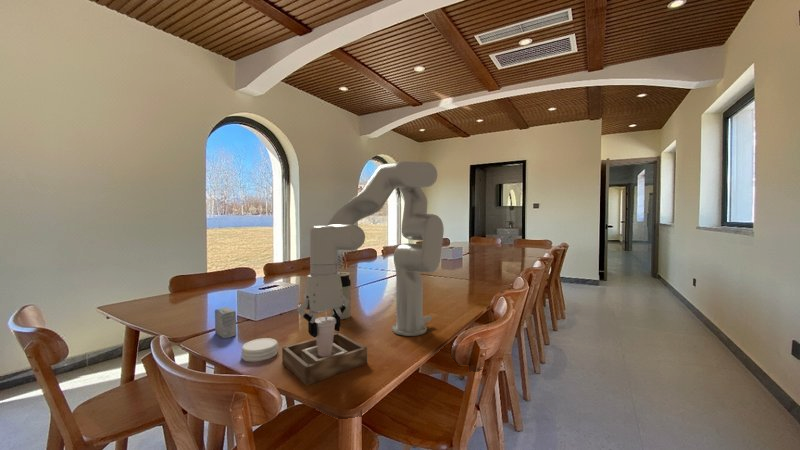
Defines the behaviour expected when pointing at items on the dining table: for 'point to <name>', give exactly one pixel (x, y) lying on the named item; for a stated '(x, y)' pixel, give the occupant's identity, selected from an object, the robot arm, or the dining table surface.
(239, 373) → the dining table surface
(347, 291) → the travel mug
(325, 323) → the smoothie
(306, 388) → the dining table surface
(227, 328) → the medicine box
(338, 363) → the walnut box
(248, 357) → the coaster
